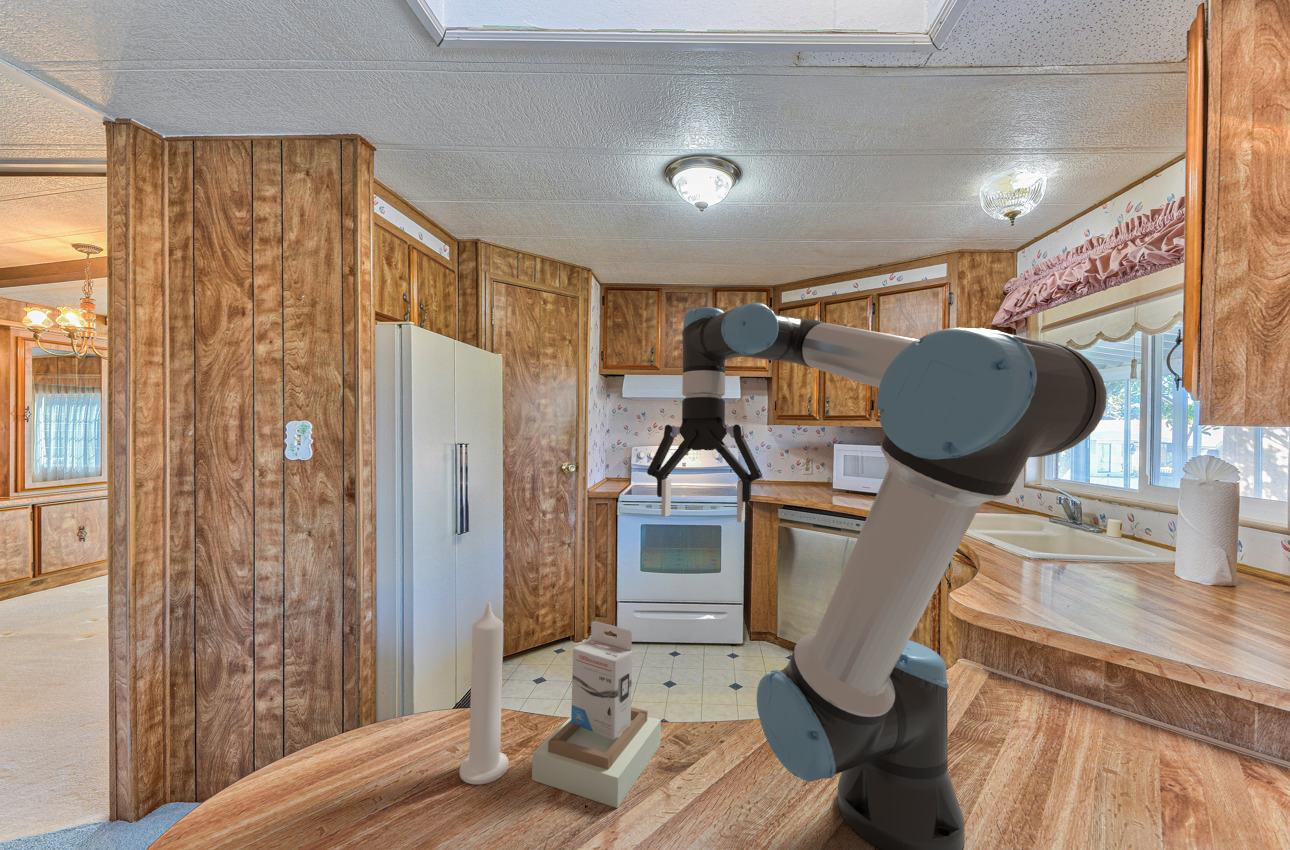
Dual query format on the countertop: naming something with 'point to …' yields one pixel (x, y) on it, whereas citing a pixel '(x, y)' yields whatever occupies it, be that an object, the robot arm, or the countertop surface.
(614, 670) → the ink box
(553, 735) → the display stand
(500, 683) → the candle
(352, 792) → the countertop surface
